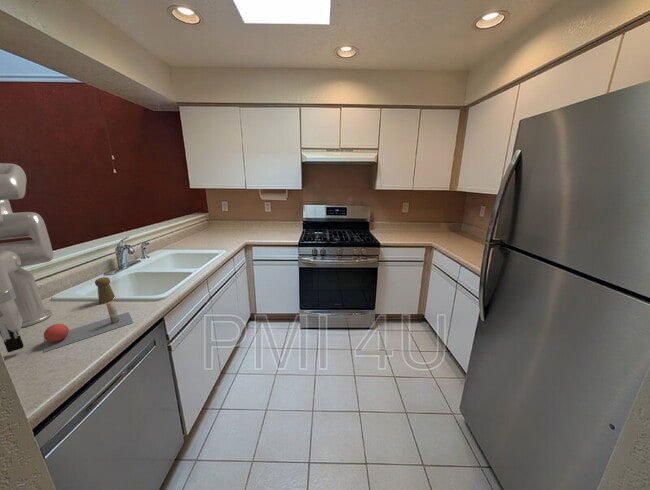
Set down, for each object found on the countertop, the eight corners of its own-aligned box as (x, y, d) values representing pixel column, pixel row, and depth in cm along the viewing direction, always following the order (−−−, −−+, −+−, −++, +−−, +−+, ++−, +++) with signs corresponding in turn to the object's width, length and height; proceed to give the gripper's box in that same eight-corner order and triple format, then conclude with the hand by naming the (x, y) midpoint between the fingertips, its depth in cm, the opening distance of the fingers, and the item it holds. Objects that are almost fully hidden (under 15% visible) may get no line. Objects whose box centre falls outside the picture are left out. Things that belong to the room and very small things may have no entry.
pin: (109, 324, 98) (104, 304, 96) (114, 320, 101) (109, 301, 98) (116, 324, 98) (110, 304, 96) (120, 320, 101) (115, 301, 98)
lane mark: (43, 352, 83) (43, 352, 83) (45, 337, 90) (45, 337, 90) (133, 322, 99) (133, 322, 99) (128, 312, 107) (128, 311, 107)
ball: (41, 345, 86) (35, 330, 84) (59, 335, 92) (54, 320, 90) (59, 345, 86) (53, 330, 84) (75, 334, 92) (71, 320, 90)
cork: (119, 297, 120) (113, 275, 117) (109, 303, 114) (103, 280, 111) (106, 297, 120) (100, 275, 117) (95, 303, 114) (88, 281, 111)
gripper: (11, 301, 74) (31, 354, 79) (17, 286, 85) (35, 334, 90) (-32, 310, 69) (-7, 367, 74) (-19, 293, 80) (1, 344, 85)
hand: (16, 349), depth 82 cm, fingers closed
